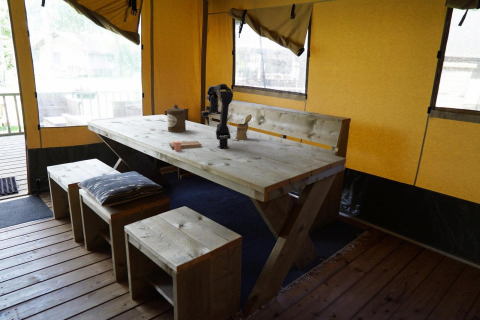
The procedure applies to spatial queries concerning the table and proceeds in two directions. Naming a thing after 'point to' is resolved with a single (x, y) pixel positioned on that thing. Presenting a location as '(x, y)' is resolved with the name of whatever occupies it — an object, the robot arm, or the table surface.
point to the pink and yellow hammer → (177, 145)
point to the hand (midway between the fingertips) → (214, 125)
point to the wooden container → (176, 119)
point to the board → (187, 144)
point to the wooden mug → (243, 129)
